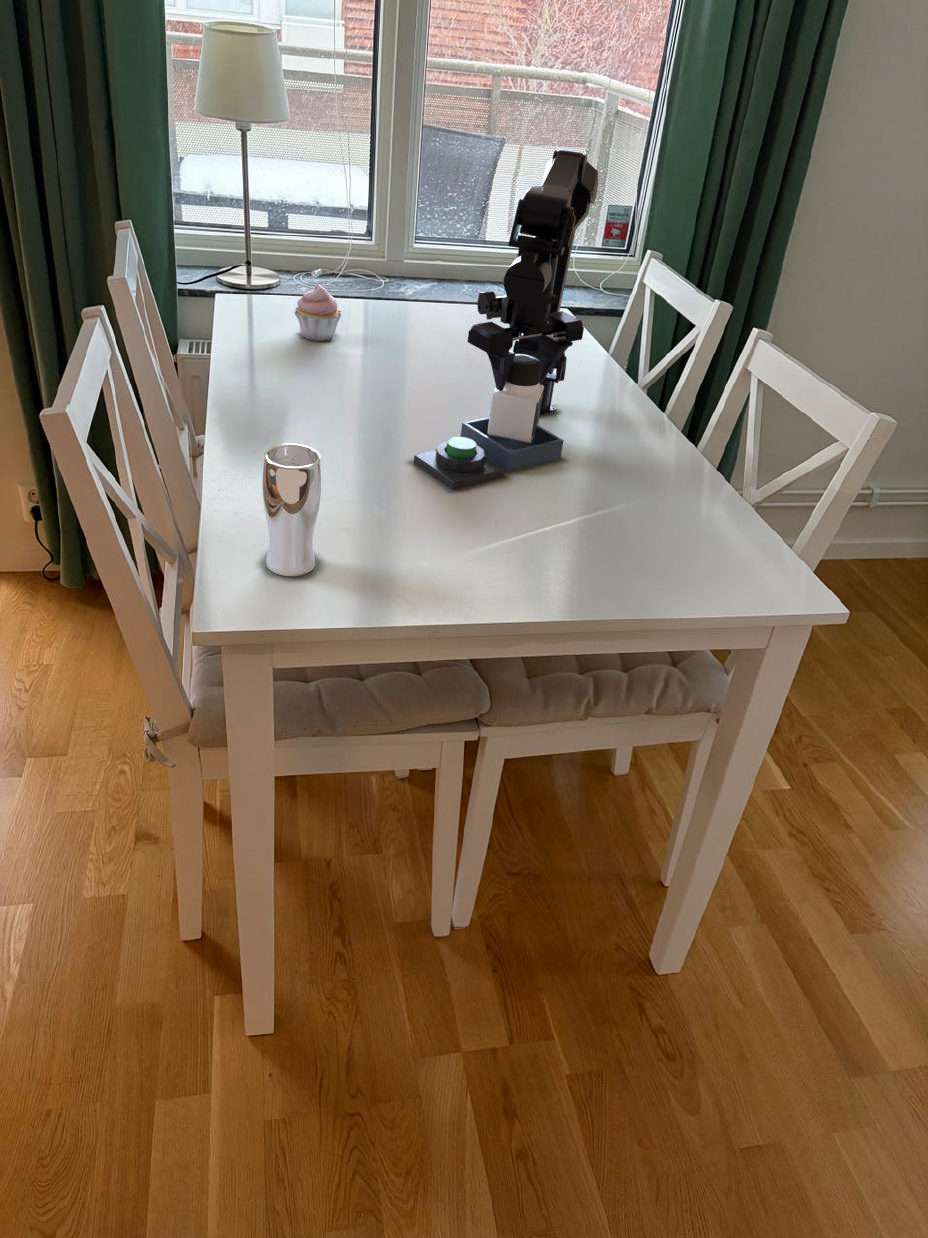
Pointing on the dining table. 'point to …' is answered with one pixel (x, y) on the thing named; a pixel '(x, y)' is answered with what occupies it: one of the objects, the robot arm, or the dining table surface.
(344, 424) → the dining table surface
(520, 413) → the medicine bottle
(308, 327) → the cupcake
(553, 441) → the blue-grey tray
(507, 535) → the dining table surface
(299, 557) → the beer glass
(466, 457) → the button
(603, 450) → the dining table surface
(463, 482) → the control panel
